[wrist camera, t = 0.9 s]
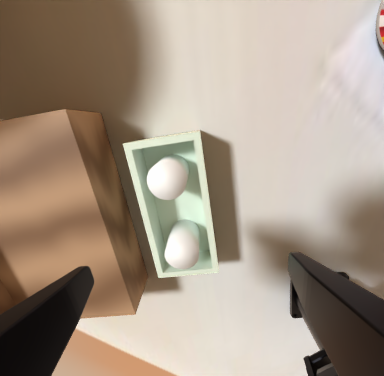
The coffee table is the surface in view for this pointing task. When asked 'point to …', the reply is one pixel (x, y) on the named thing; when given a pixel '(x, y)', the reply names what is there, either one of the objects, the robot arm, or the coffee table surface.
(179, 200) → the tray
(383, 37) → the soda can
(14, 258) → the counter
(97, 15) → the coffee table surface
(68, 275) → the robot arm
